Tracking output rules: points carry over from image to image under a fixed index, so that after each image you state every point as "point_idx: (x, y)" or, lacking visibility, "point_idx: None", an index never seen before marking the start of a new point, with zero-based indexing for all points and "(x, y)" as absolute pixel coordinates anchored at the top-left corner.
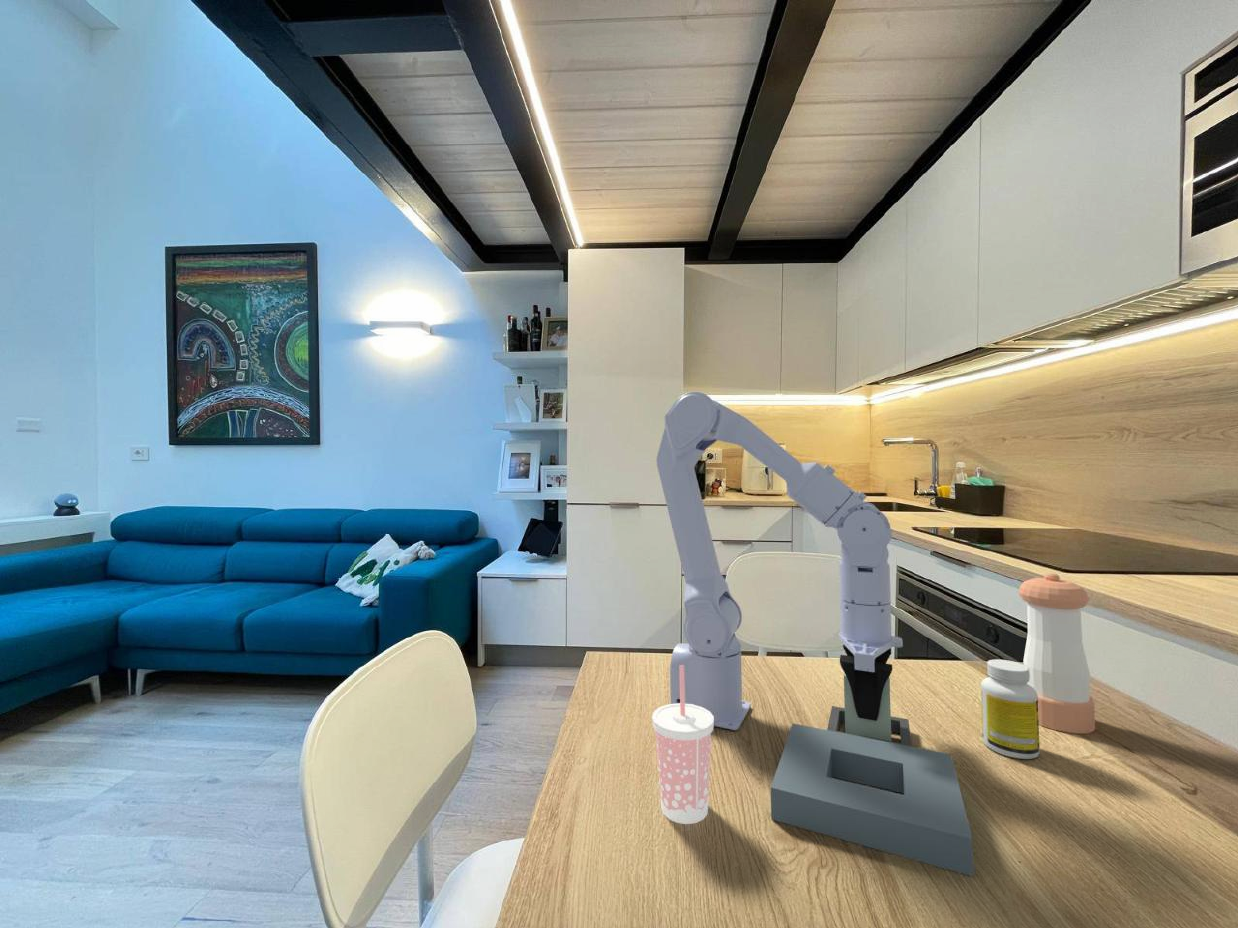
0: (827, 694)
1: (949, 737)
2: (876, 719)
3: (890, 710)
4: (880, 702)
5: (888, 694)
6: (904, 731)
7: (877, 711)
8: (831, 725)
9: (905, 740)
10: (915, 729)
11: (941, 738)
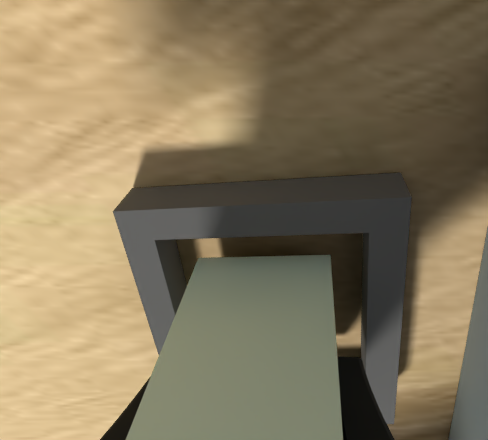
0: (39, 394)
1: (75, 38)
2: (359, 361)
3: (335, 352)
4: (390, 433)
5: (342, 438)
6: (243, 223)
7: (372, 393)
8: None
9: (330, 219)
10: (97, 166)
11: (109, 71)
